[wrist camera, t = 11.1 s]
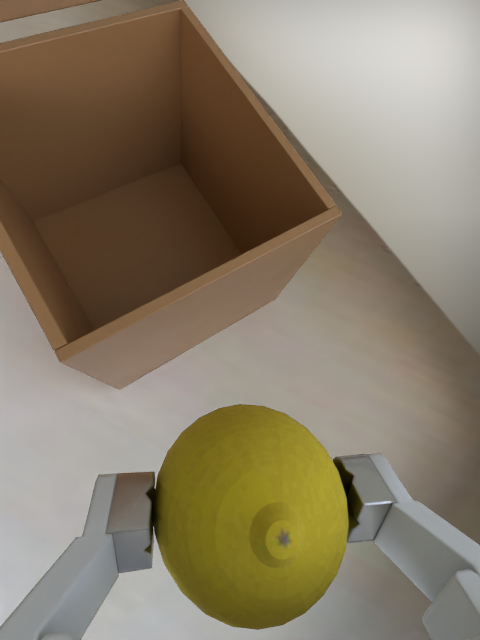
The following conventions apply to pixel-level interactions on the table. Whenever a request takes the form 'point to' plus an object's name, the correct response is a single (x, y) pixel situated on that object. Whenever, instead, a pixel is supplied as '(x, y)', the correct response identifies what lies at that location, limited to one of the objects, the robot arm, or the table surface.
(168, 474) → the lemon
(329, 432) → the table surface
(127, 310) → the carton
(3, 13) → the flap
